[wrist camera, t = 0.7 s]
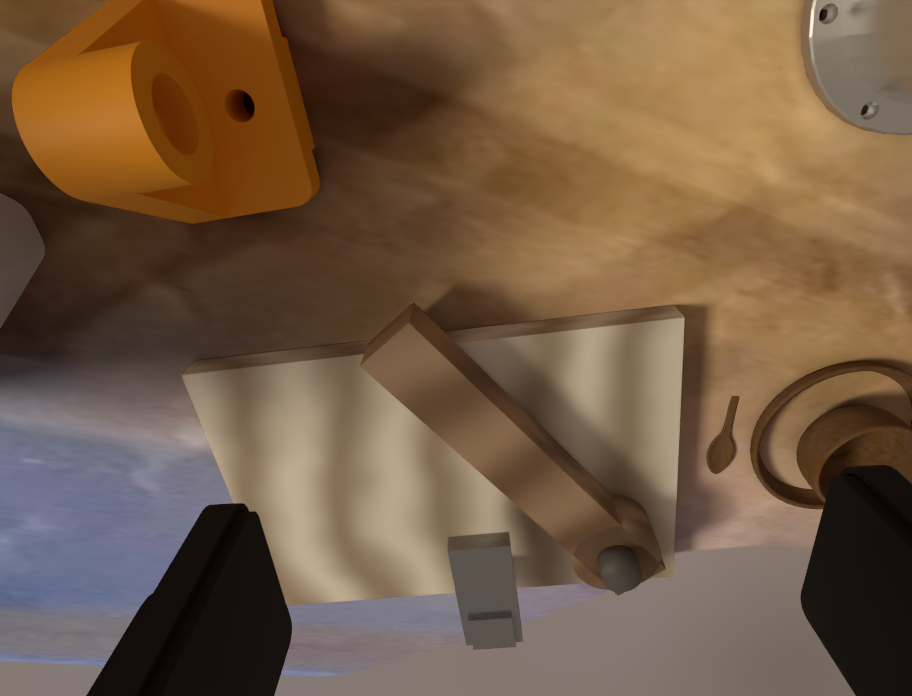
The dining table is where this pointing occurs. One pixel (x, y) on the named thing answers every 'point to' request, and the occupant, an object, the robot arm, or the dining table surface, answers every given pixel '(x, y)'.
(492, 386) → the walnut link
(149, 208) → the bracket
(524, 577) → the birch board
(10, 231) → the grey waste bin
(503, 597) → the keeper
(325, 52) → the dining table surface
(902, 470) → the place setting
